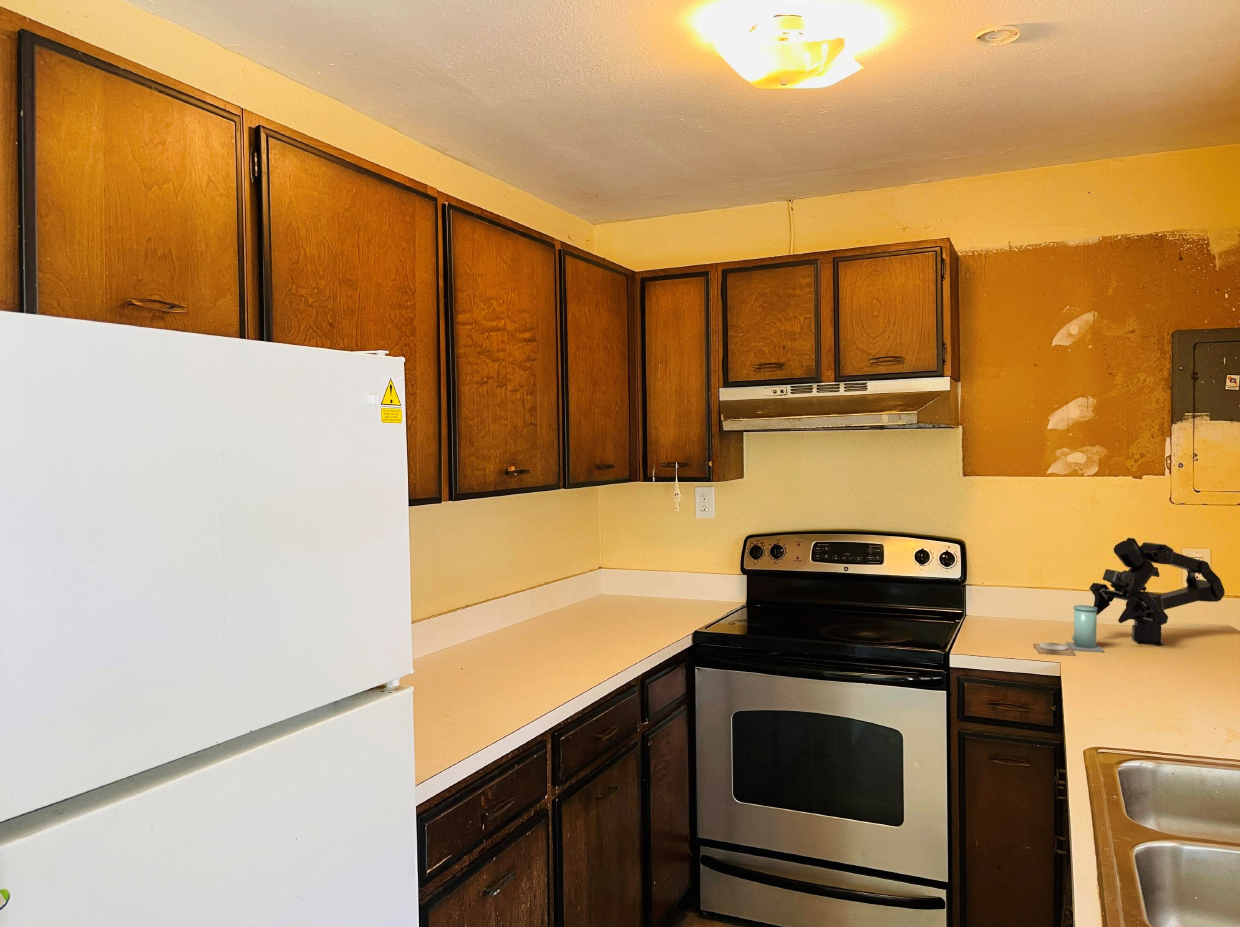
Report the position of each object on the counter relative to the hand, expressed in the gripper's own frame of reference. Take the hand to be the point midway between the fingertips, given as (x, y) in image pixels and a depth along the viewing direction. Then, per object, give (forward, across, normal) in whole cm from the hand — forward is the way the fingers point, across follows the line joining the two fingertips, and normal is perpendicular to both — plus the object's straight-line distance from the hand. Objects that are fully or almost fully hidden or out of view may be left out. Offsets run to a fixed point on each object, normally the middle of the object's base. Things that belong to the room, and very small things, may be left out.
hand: (1105, 618), depth 254 cm
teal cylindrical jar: (+10, 0, 0) cm, 10 cm away
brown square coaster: (+18, 0, -8) cm, 20 cm away
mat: (+11, 0, 0) cm, 11 cm away
